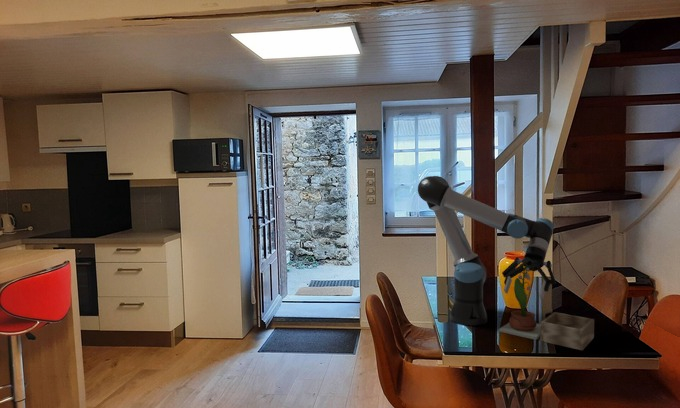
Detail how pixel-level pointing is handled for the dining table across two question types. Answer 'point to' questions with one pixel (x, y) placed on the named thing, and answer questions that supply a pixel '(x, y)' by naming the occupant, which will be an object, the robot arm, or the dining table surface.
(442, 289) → the dining table surface
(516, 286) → the potted flower
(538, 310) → the dining table surface
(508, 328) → the pad
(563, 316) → the open wooden box
